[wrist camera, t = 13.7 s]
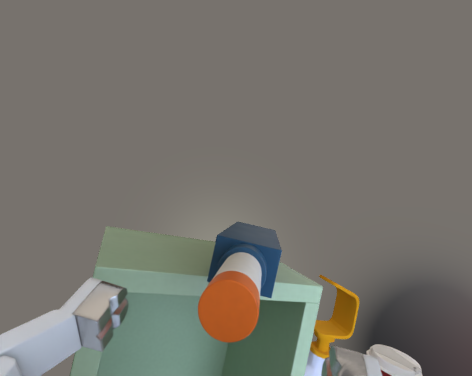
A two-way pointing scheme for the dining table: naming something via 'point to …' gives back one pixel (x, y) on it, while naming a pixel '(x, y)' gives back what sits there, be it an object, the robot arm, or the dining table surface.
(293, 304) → the stand
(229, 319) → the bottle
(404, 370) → the paper cup
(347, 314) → the soap bottle
